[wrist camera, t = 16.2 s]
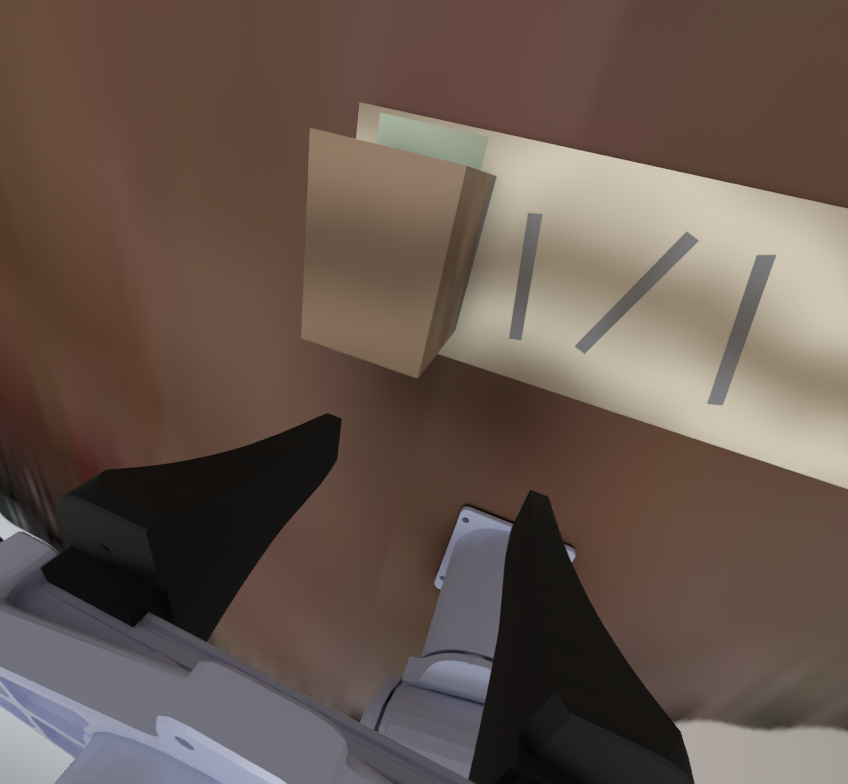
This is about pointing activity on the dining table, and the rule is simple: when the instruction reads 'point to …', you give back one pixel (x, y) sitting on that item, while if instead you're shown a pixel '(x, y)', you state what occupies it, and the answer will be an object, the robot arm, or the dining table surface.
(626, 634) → the dining table surface
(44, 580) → the robot arm
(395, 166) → the eraser block
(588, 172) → the birch board
